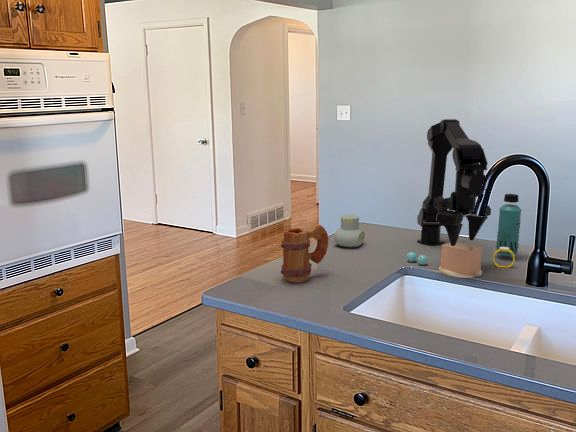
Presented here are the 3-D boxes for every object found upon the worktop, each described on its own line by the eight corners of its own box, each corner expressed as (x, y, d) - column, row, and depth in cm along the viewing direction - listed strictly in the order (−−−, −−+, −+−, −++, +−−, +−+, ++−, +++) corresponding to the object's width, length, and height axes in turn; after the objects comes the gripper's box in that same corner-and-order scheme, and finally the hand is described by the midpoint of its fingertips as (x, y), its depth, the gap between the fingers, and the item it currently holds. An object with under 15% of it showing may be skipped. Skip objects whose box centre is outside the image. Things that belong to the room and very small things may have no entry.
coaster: (454, 262, 175) (454, 260, 175) (490, 271, 166) (490, 270, 166) (430, 270, 168) (430, 268, 168) (466, 281, 159) (466, 279, 159)
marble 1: (410, 259, 178) (411, 250, 178) (418, 261, 176) (419, 252, 175) (404, 261, 176) (404, 251, 176) (412, 263, 174) (412, 254, 173)
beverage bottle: (494, 259, 178) (499, 195, 173) (495, 253, 184) (500, 191, 179) (517, 262, 175) (523, 197, 171) (517, 256, 181) (523, 193, 177)
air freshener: (355, 251, 188) (356, 221, 185) (331, 248, 191) (332, 218, 189) (366, 242, 197) (367, 214, 195) (343, 240, 201) (343, 211, 198)
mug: (287, 287, 155) (287, 232, 151) (274, 278, 162) (273, 226, 158) (334, 278, 161) (335, 226, 158) (319, 270, 168) (319, 220, 165)
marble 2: (421, 262, 175) (421, 252, 175) (429, 264, 173) (430, 255, 172) (415, 264, 173) (415, 254, 173) (423, 266, 171) (423, 257, 171)
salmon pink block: (453, 263, 172) (454, 241, 171) (480, 270, 166) (482, 247, 164) (440, 268, 168) (441, 244, 167) (467, 275, 162) (469, 251, 160)
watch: (492, 268, 171) (492, 248, 169) (492, 265, 173) (492, 246, 172) (514, 269, 169) (514, 249, 167) (514, 266, 171) (514, 246, 170)
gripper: (459, 181, 173) (456, 232, 177) (421, 189, 161) (418, 243, 165) (493, 186, 165) (489, 239, 169) (456, 194, 153) (452, 251, 157)
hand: (462, 242), depth 165 cm, fingers open, 9 cm apart
